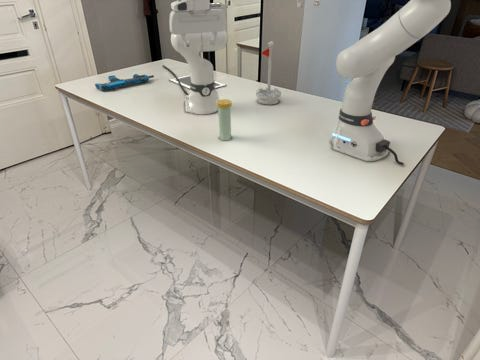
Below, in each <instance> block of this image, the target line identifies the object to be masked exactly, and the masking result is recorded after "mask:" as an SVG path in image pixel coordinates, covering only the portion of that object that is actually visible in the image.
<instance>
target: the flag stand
mask: <svg viewBox="0 0 480 360" xmlns="http://www.w3.org/2000/svg"><path fill="white" fill-rule="evenodd" d="M267 46H268V48H266V49H265V50H263V51H262V52H260V54H262V55H263V56H266V57H268V64H267V65H268V67H267V86H266V87H265V89H263V87H259V88H257V90H255V91H256V92H255V96H256V97H257V102H258V103H259V104H262V105H276V104H277V103H279V99H280V98H281V97H282V90H281V89H279V88H278V87H274V88H273V89H271V83H272V81H271V80H272V61H273V47H274V46H275V43H274V41H268V43H267Z"/></svg>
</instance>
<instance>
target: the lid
mask: <svg viewBox="0 0 480 360" xmlns="http://www.w3.org/2000/svg"><path fill="white" fill-rule="evenodd" d="M232 104H233V103H232V100H231V99H226V98H224V99H219V100H218V101H217V107H218V108H222V109H226V108H232Z"/></svg>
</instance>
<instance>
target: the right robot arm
mask: <svg viewBox="0 0 480 360" xmlns="http://www.w3.org/2000/svg"><path fill="white" fill-rule="evenodd" d="M295 1H296V8H303V6H304V2H303V1H302V0H295ZM320 3H321V0H314V1H313V6H315V7H319V6H320ZM451 8H452V2H451V0H409V1H408V2H407V3H406V4H405V5H403V6H402V7H401V8H400V9H399V10H398V11H396V12H395V13H394V14H393V15H391V16H390V17H389V18H388V20H386V21H385V22H383V24H381V25H380V26H378V27H377V28H375V29H374V30H373V31H371V32H370V33H368V34H366V35H364V36H363V37H361V38H360V39H359V40H358V41H356V42H355V43H353V44H352V45H350V46H348V47H347V48H345V49H343V50H342V51H340V52H339V53H338V54H337V56H336V59H335V69H336V73H337V74H338V75H339V77H341V78H344V79H351V81H350V83H348V85H347V86H346V87H345V89H344V91H343V98H342V103H341V108H340V109H339V113H338V122H337V123H338V124H337V127H336V130H335V132H334V133H332V136H333V137H332V139H331V144H332V149H333V150H334V151H336V152H340V153H343V154H344V155H345V154H346V155H348V156H351V157H354V158H356V159H359V160H361V161H365V162H374V161H379V160H381V159H383V158H385V157H387V155H388V154H389V153H391V154H392V155H393V157H394V161H395V163H397V164H398V165H400V166H404V165H405V162H403V161H400V160H399V157H398V155H397V153H396V152H395V150H393V149H392V148H390V146H391V141H390V140H387V139H385V138H384V135H383V134H382V133H381V131H379V128H377V126H376V125H375V124H374V121H375V120H376V119H377V116H373V113H372V109H373V104H374V101H375V96H376V93H377V91H378V88H379V86H380V84H381V81H382V80H383V78H384V76H385V75H386V72H387V71H388V69H389V68H390V67H391V66H392V65H393V64H394V62H395V60H396V56H398V55H400V54H402V53H403V52H404V51H406V50H407V49H408V48H410V47H411V46H413V45H414V44H416V42H418V41H420V40H421V39H422V38H424V37H425V36H426V35H428V34H429V33H430V32H431V31H432V30H434V29H435V28H436V27H437V26H438V25H439V24H440V23H441V22H442V21H444V19H445V18H446V17H447V16H448V15H449V13H450V11H451Z"/></svg>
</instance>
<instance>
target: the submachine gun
mask: <svg viewBox="0 0 480 360" xmlns="http://www.w3.org/2000/svg"><path fill="white" fill-rule="evenodd" d="M153 78H155V76H154V74H152V75H147V74H142V75H140V74H138V73H134V74H133V75H132V77H130V78H125V79H120V78H118V77H117V76H116V75H108V80H109V81H110V82H105V83H104V82H103V83H97V82H96V83H94V86H95V88H97V89H98V90H100V91H107V90H113V91H114V90H115V89H117V88H122V87H126V86H130V85H136V84H140V83H147V82H148V81H150V79H153Z"/></svg>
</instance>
